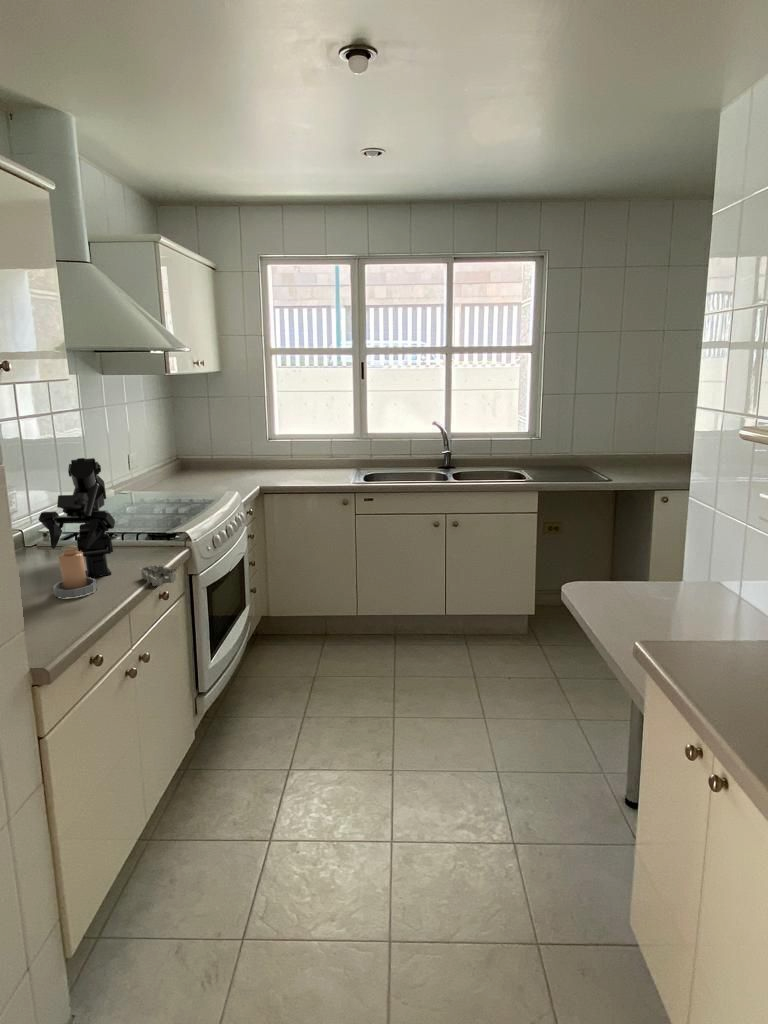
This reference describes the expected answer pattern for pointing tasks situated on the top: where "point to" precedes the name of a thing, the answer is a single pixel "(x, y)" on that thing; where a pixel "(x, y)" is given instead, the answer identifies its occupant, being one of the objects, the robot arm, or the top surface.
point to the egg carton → (158, 574)
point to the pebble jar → (72, 568)
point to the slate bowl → (75, 592)
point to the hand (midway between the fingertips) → (69, 547)
